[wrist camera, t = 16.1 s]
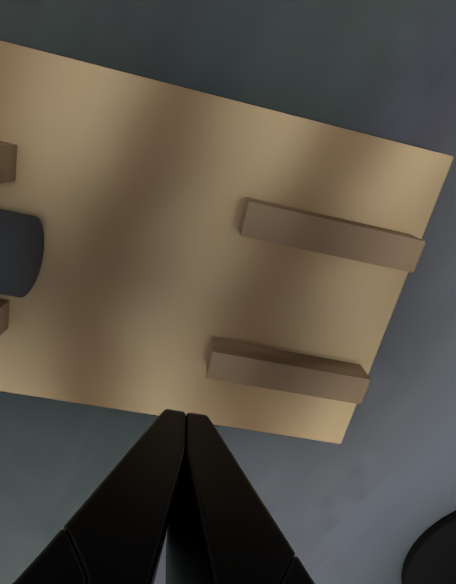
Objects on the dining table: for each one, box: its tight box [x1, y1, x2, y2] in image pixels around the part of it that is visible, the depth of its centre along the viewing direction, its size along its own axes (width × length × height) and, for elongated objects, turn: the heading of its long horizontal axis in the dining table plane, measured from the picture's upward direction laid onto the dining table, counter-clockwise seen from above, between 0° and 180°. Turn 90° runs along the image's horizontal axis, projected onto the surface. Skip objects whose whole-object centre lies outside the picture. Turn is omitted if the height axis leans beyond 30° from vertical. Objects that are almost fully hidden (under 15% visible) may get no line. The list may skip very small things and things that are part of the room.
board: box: [0, 41, 454, 444], centre depth 15 cm, size 22×13×2 cm, turn 77°
